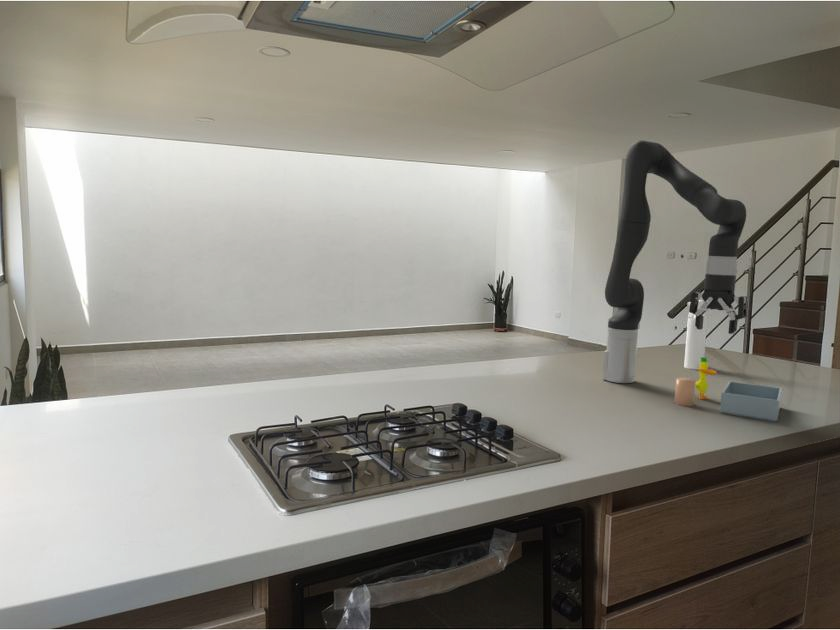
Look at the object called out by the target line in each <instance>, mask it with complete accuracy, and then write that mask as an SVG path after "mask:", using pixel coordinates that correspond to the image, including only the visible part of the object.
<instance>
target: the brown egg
mask: <svg viewBox="0 0 840 630" xmlns="http://www.w3.org/2000/svg"><path fill="white" fill-rule="evenodd" d="M696 382H697V380H696V379H694V378H691V377H684V376H683V377H681V376H679V377H676V379H675V388H674V400H673V402H674V404H675V405H677V406H682V407H694V405H695V395H696V393H695V392H696Z"/></svg>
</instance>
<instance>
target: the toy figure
mask: <svg viewBox="0 0 840 630" xmlns="http://www.w3.org/2000/svg"><path fill="white" fill-rule="evenodd" d="M707 359H708V357H705V356H704V357H701V362H700V367H699V369H698V370H697V371H698V372H699V373H698V375H699V380H698V381H696V383H695V390H696V391H697V393H699V396H698V399H700V400H708V399H709V398H708V396H706V395H705V393H706V392H707V391H708V388H709V384H708V382H707V381H706V379H707V375H709V376H715V375H716V374H717V371H716V370H713V369H711V368H709V367H708V366H709V361H708V360H707Z"/></svg>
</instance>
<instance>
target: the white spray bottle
mask: <svg viewBox="0 0 840 630" xmlns="http://www.w3.org/2000/svg"><path fill="white" fill-rule="evenodd" d="M690 303H691V301H688V302H687V305H686V306H689V307H690ZM703 304H704V300H703V299H700V300H699V303H698V309H697V310H699V309H700V307H701V306H702V305H703ZM702 316H704V318H703V328H702V329H700V330H699V329H697V327H696V326H695V321H696V315H695V314H693V313H690V312H689V311H688V315H687V327H686V337H685V350H684V363H683V364H684V365H683V367H684V368H685V369H689V370H697V371H698V369H699V367H700V362H701V357H705V351H706V340H707V339H706V338H707V337H706V336H707V326H708V318H707V316H706V312H705V313H704V314H703V315H702Z"/></svg>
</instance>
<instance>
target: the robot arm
mask: <svg viewBox="0 0 840 630" xmlns="http://www.w3.org/2000/svg"><path fill="white" fill-rule="evenodd" d="M625 157H626V158H625V164H624V185H623V192H622V199H621V209H620V215H619V219H618V225H617V230H616V238H615V239H616V240H615V244H614V250H613V257H612V261H611V265H610V268H609V272H608V277H607V280H606V284H605V289H604V298H605V301H606V303H607V304H608V306H609V307H612V308H617V311H616V313H615V314H614V315H612V316H611V317H610V318H608V321H607V337H606V339H607V340H606V350H604V355H603V370H602V372H603V373H602V380H604V381H608V382H611V383H617V384H631V383H632V384H633V383H634V382H635V378H636V377H635V376H636V365H637V364H636V363H637V347H638V333H639V325H640V322H641V321H642V318H643V317H642V316H643V310H644V307H643V306H644V301H645V291H644V287H643V284H642V282H640V280H638V279H637V278H630V276H631V271H632V267H633V265H634V262H635V261H636V259H637V257H638V255H639V254H640V253H641V251H642V249H643V248H644V246H645V244H646V242H647V241H648V237H649V232H650V227H651V217H652V216H651V209H650V205H649V201H648V197H647V195H646V193H647V192H646V184H647V179H648V178H647V177H648V174H653V175H655V176H658V177H660V178H662V179H664V180H665V181H666V182H667V183H669V184H670V185H671V187H672V188H673V189H674V191H675V192H676V193H677V195H679V196H680V197H681V198H682V199H683V200H684V201H686V202H687V203H689V204H690V205H691V206H693V207H695V208H696V209H697V210H698V211H699V213H700V214H701V215H702V217H704V218H705V219H706V220H708V221H709V222H710V223H712V224H714V225H718V226H719V227H718V230H717V233H716V234H714V235H712V236H711V237H710V239H709V245H708V254H707V261H706V266H705V274H704V275H705V277H704V287H703V289H704V291H703V293H702V292H699V291H693V292H692V293H691V296H690V297H691V298H690V302H691V303H690V306H689V309H688V313H689V312H690V313H693V314H695V315H696V321H695V326H696V327H697V329H699V330H700V329H702V328H703V318H704V316H702V315H703V314H704V313H705V314H706V312H707V311H709V310H716V311H724V312H725V313H726V314H727V316H729V318H730V320H729V321H728V323H729V324H728V334H730V335H733V334H735V333H736V332H737V329H738V321H739V320H741V319H746V318H747V307H748V306H747V304H748V303H747V302H748V298H747V296H745V295H742V296H737V295H735V291H736V281H737V273H738V249H739V240H740V238H741V236H742V232H743V230H744V228H745V224H746V220H747V209H746V205H745V204H744V203H743V202H742V201H741V200H738V199H732V198H731V199H730V198H725V197H723V196H721V195H720V194H719V193H718V190H717V188H716V187H715V186H714V185H712V184H711V183H710V182H708V181H706V180H705V179H703V178H702V177H700V176H699V175H698V174H696V173H694V172H693V171H691V170H690V169H689V168H687V167H686V166H684V165H683V164H682V163H681V162H680V161H678V159H676V158H675V156H674V155H673V154H671V152H670V151H669V150H668V149H667V148H666V147H664V145H662V144H661V143H659V142H655V141H654V142H653V141H647V140H636V141H635V142H633V143H632V144H631V145H630V146H629V148H628V149H627V153H626V156H625ZM699 300H703V305H701V307H700V309H699V310H697V309H698V303H699ZM734 302H735V303H736V304H737V308H738V309H737V312H736V309H735V307H734V306H733V303H734Z"/></svg>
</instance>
